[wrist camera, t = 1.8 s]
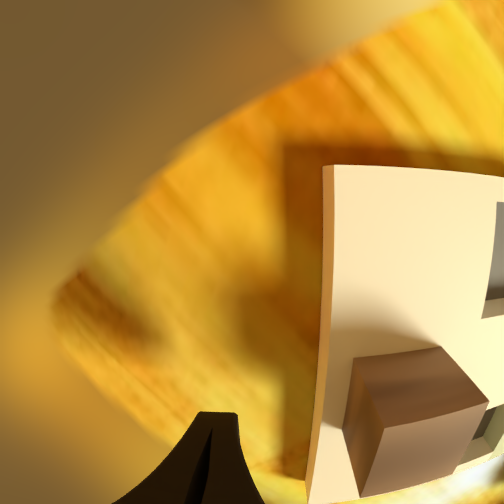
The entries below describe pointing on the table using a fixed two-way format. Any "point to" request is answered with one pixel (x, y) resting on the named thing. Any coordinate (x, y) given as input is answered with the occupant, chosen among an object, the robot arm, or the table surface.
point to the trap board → (406, 296)
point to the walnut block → (408, 419)
